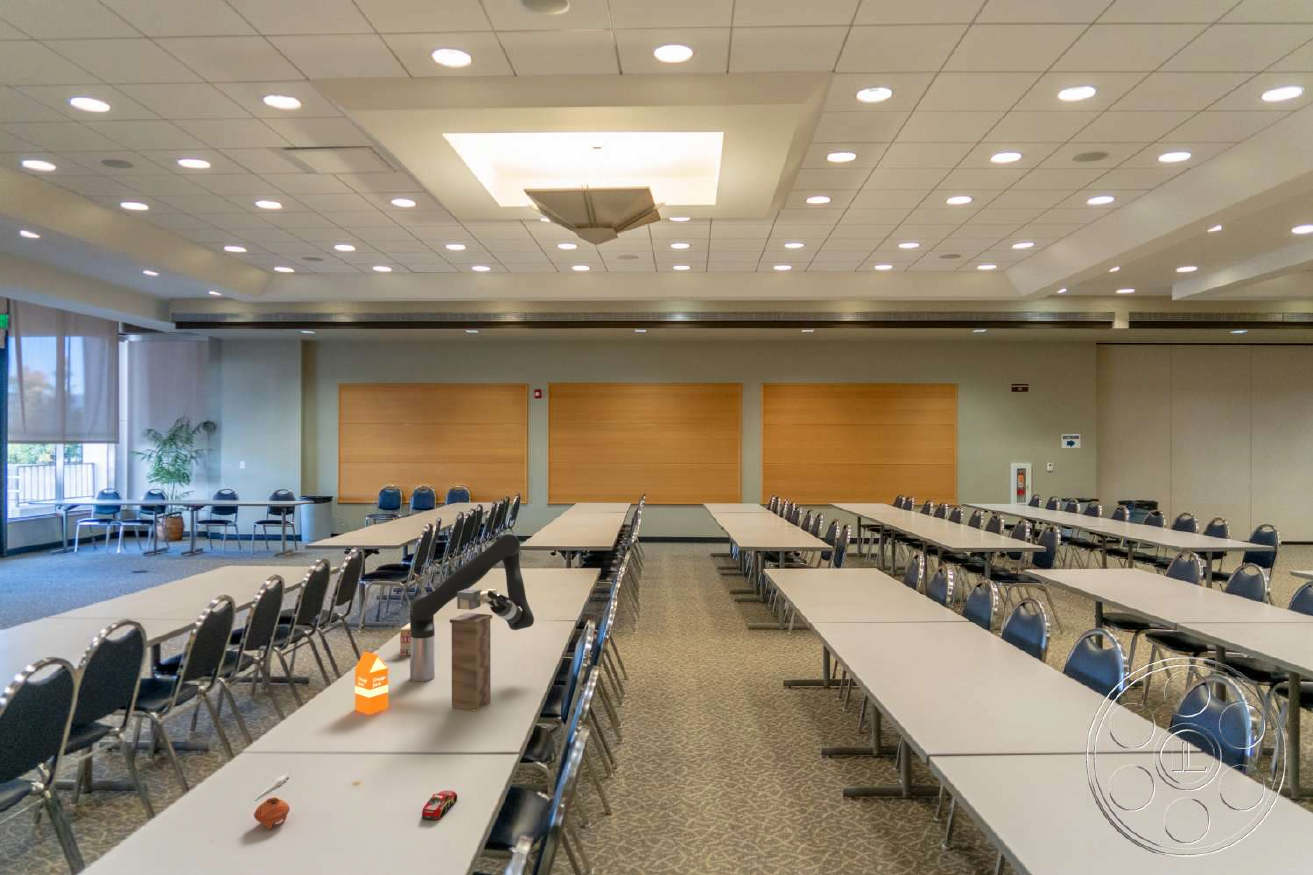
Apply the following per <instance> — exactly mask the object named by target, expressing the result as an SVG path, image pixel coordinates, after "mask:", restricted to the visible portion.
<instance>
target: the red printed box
mask: <svg viewBox="0 0 1313 875" xmlns="http://www.w3.org/2000/svg"><path fill="white" fill-rule="evenodd" d="M399 636H400V637H399V639H400V644H399V645H400V651H399V652H400V654H399V656H400V655H411V629H410V622H409V623H407V624H406V625H405V626H403V627H401V628H400V634H399Z"/></svg>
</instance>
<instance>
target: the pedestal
mask: <svg viewBox="0 0 1313 875" xmlns="http://www.w3.org/2000/svg"><path fill="white" fill-rule="evenodd" d="M492 619H493V614H485V613H472V612H465V613H463V614H460V615H457V616H455V617H453V618H450V619H449V623H450V624H451V709H454V710H462V711H470V710H475V711H474V712H477V711H479V710H481V709H482V708H484V707H485V706H487V705H488V704H490V703H491V702H492V701H491V696H492V695H491V694H492V693H491V684H492V683H491V620H492ZM487 703H488V704H487ZM486 704H487V705H486ZM483 706H484V707H483Z"/></svg>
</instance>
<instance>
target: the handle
mask: <svg viewBox="0 0 1313 875" xmlns="http://www.w3.org/2000/svg"><path fill="white" fill-rule="evenodd" d="M497 590H498V588H497V589H495V588H486V589H485V590H482V591H481V589H475V588H474V589H473V588H469V589H465V590H462V591H459V592H457V597H456V608H457V610H470V611H471V610H475V609H478V608H480V607H481V606H482V605H483V604H486V603H487V602H489V601H492V600H493V599H491V598H489V597H488V591H492V592H493V593H494V594H497V595H498V592H497Z"/></svg>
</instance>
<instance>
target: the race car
mask: <svg viewBox="0 0 1313 875" xmlns="http://www.w3.org/2000/svg"><path fill="white" fill-rule="evenodd" d="M457 800H458V794H457V792H455V791H453V790H443V791H440V792H438V793H435V794H434V793H433V794H432V795H431V797H430V798H429V800H428V801H427V802H426V804H425V805H424V806H423V808H422V810H421V818H422V819H424V820H425V819H426V820H428V819H429V820H438V819H440V818H443V817H444V816H445V814H446V813H447V811H449V809H451V807H452V806H453V805H455V803H456V802H457Z"/></svg>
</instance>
